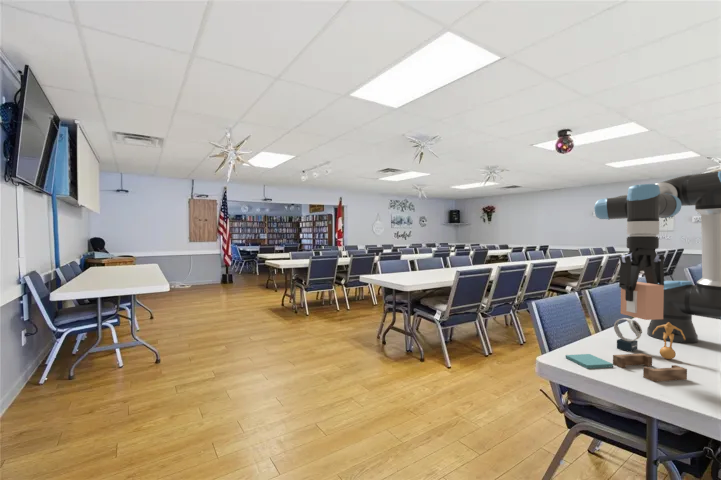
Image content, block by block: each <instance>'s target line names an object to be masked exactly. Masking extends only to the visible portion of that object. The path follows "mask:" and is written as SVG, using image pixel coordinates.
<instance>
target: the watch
mask: <svg viewBox="0 0 721 480" xmlns="http://www.w3.org/2000/svg"><path fill="white" fill-rule="evenodd" d="M620 321H627V323H628V325H629V328H630V329H631V331H632V333H634V334H635V336H636V338H634V339H632V338H626V337H625V336H623V334H622V332H621V330H620V327H619V325H618V324H619V323H620ZM613 331H614V332H615V334H616V336H617V337H618V339H616V350H622V351H626V352H628V353H629V352H630V353H632V352H634V351H637V350H638V342H639V341H638V340H639V339H640V338H641V336H642V333H643V329H642V327H641V325H640V324H639V322H637V321H636V320H634V319H632V318H629V317H628V318H627V317H623V318H620V319H617V320H615V322H614V324H613Z"/></svg>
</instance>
